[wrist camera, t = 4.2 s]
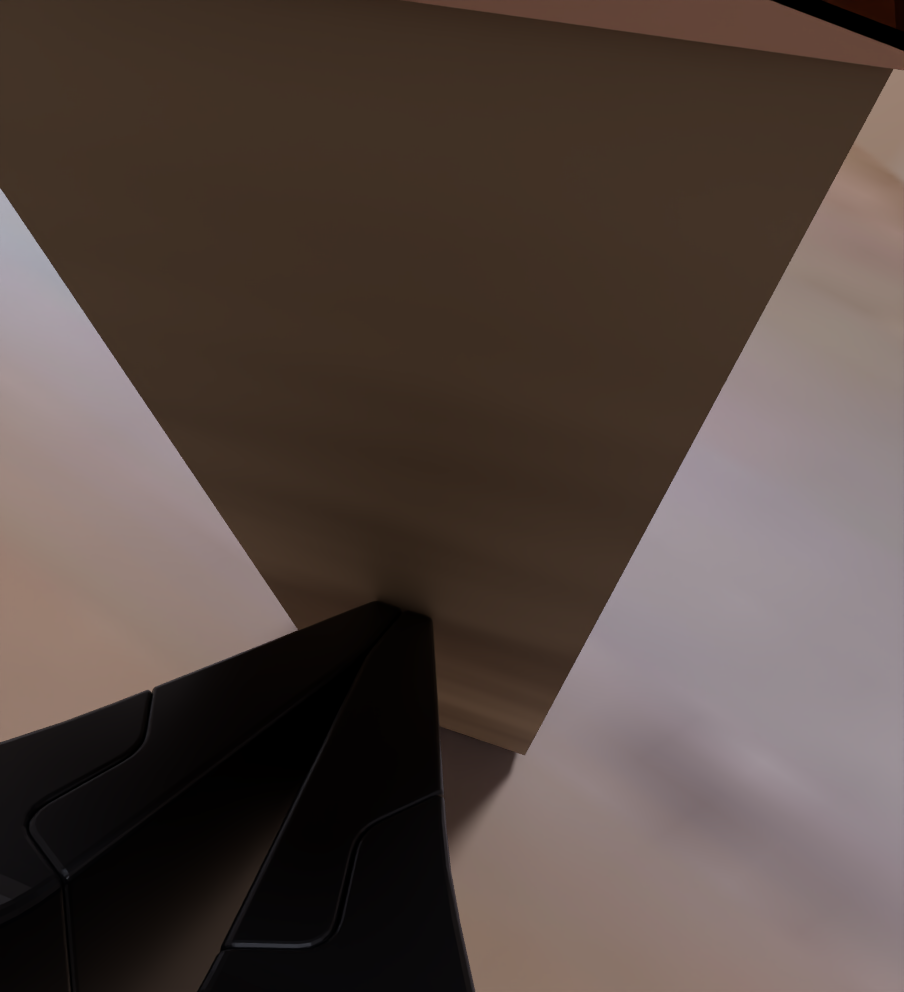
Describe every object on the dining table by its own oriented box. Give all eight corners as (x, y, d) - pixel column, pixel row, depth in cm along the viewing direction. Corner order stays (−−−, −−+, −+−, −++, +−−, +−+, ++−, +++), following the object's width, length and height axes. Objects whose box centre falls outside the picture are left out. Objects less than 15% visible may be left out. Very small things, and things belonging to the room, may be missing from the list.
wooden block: (526, 758, 14) (1146, -341, 1) (337, 693, 15) (-420, -397, 2) (571, 577, 16) (972, -497, 4) (405, 528, 17) (235, -496, 4)
